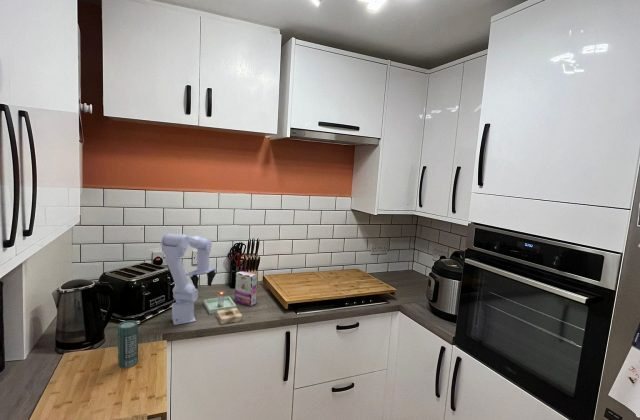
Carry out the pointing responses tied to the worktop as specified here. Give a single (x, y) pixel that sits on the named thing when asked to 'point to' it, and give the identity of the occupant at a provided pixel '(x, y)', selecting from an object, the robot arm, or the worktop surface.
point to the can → (127, 344)
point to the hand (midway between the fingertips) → (202, 287)
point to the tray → (212, 303)
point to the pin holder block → (229, 315)
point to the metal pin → (220, 299)
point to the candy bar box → (246, 288)
